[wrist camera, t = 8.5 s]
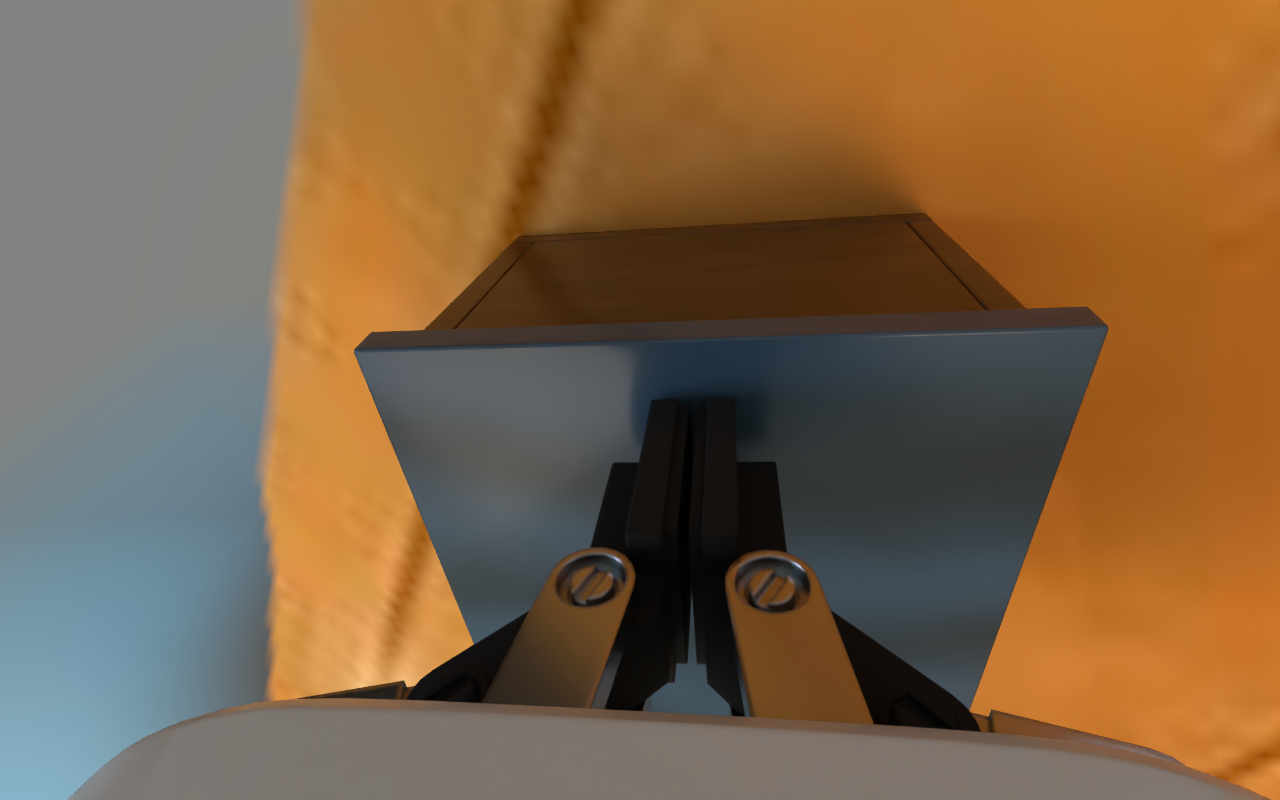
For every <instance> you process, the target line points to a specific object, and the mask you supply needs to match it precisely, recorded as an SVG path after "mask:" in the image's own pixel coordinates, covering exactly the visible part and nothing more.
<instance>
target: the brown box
mask: <svg viewBox="0 0 1280 800" xmlns="http://www.w3.org/2000/svg"><path fill="white" fill-rule="evenodd" d="M1005 309H1027V308H1026V307H1024V306H1023V305H1022V304H1021V303H1020V302H1019V301H1018V300H1017V299H1016V298H1015V297H1014V296H1013V295H1012V294H1011V293H1009V292H1008V291H1007V290H1006V289H1005V288H1004V287H1003V286H1002V285H1001V284H1000V283H999V282H998V281H997V280H996V279H994V278H993V277H992V276H991V275H990V274H989V273H988V272H987V271H986V270H985V269H984V268H983V267H982V266H981V265H979V264H978V263H977V262H976V261H975V260H974V259H973V258H972V257H971V256H970V255H969V254H968V253H967V252H966V251H964V250H963V249H962V248H961V247H960V246H959V245H958V244H957V243H956V242H955V241H954V240H953V239H952V238H951V237H949V236H948V235H947V234H946V233H945V232H944V231H943V230H942V229H941V228H940V227H939V226H938V225H937V224H936V223H934V222H933V221H932V219H931V218H930V217H929V216H928V215H927V214H925V213H918V214H901V215H884V216H867V217H850V218H833V219H816V220H798V221H781V222H764V223H747V224H730V225H713V226H696V227H678V228H661V229H644V230H627V231H610V232H593V233H576V234H558V235H541V236H524V237H518V238H517V239H516V240H515V241H514V242H513V243H512V244H510V245H509V246H508V247H507V248H506V249H505V250H504V251H503V252H502V253H501V254H500V255H499V256H498V257H497V258H496V259H495V260H494V261H493V262H492V263H491V264H490V265H489V266H488V267H487V268H486V269H485V270H484V271H483V272H482V273H481V274H480V275H479V276H478V277H477V278H476V279H475V280H474V281H473V282H472V283H471V284H470V285H469V286H468V287H467V288H466V289H465V290H464V291H463V292H462V293H461V294H460V295H459V296H458V297H457V298H456V299H455V300H454V301H453V302H452V303H451V304H450V305H449V306H448V307H447V308H446V309H445V310H444V311H443V312H442V313H441V314H440V315H439V316H438V317H437V318H436V319H435V320H433V321H432V322H431V323H430V324H429V325H428V326H427V327H426V328H425V329H424V330H445V329H473V328H501V327H529V326H557V325H585V324H613V323H641V322H669V321H697V320H725V319H753V318H781V317H809V316H837V315H865V314H893V313H921V312H949V311H977V310H1005Z"/></svg>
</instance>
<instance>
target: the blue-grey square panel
mask: <svg viewBox="0 0 1280 800" xmlns="http://www.w3.org/2000/svg"><path fill="white" fill-rule="evenodd" d="M1107 332H1108V325H1107V324H1105V323H1104V322H1103V321H1102V320H1101V319H1100V318H1099V317H1098V316H1097V315H1096V314H1095V313H1094V312H1093V311H1092V310H1091V309H1089V308H1088V307H1061V308H1033V309H1005V310H977V311H949V312H921V313H893V314H865V315H837V316H809V317H781V318H753V319H725V320H697V321H669V322H641V323H613V324H585V325H557V326H529V327H501V328H473V329H445V330H417V331H389V332H372V333H370V334H369V335H368V336H367V337H366V338H365V339H364V340H363V341H362V342H361V343H360V344H359V345H358V346H357V347H356V348H355V349H354V353H355V356H356V358H357V361H358V363H359V366H360V368H361V370H362V373H363V375H364V378H365V380H366V383H367V385H368V387H369V390H370V392H371V395H372V397H373V400H374V402H375V404H376V407H377V409H378V412H379V414H380V417H381V419H382V421H383V424H384V426H385V429H386V431H387V434H388V436H389V439H390V441H391V443H392V446H393V448H394V451H395V453H396V456H397V458H398V460H399V463H400V465H401V468H402V470H403V473H404V475H405V477H406V480H407V482H408V485H409V487H410V490H411V492H412V494H413V497H414V499H415V502H416V504H417V507H418V509H419V511H420V514H421V516H422V519H423V521H424V524H425V526H426V528H427V531H428V533H429V536H430V538H431V541H432V543H433V546H434V548H435V550H436V553H437V555H438V558H439V560H440V563H441V565H442V567H443V570H444V572H445V575H446V577H447V580H448V582H449V584H450V587H451V589H452V592H453V594H454V597H455V599H456V601H457V604H458V606H459V609H460V611H461V614H462V616H463V618H464V621H465V623H466V626H467V628H468V631H469V633H470V635H471V638H472V640H473V643H474V644H476V643H477V642H479V641H481V640H482V639H484V638H486V637H487V636H489V635H490V634H492V633H494V632H495V631H497V630H498V629H500V628H502V627H503V626H505V625H506V624H508V623H510V622H511V621H513V620H515V619H516V618H518V617H519V616H521V615H523V614H524V613H526V612H527V611H529V610H530V609H531V607H532V605H533V603H534V601H535V599H536V597H537V595H538V593H539V592H540V590H541V588H542V586H543V584H544V582H545V580H546V578H547V576H548V574H549V573H550V571H551V570H552V569H553V567H554V566H555V565H556V563H558V562H559V561H560V560H561V559H563V558H564V557H565V556H567V555H569V554H571V553H573V552H576V551H578V550H582V549H586V548H590V546H591V543H592V539H593V535H594V531H595V527H596V523H597V520H598V516H599V512H600V508H601V504H602V501H603V497H604V493H605V489H606V485H607V481H608V478H609V474H610V470H611V467H612V464H613V463H614V462H639V459H640V454H641V449H642V444H643V439H644V434H645V429H646V424H647V419H648V414H649V409H650V404H651V400H657V399H679V405H680V406H689V409H690V424H691V441H692V458H694V445H695V431H696V417H697V406H708V398H735V420H736V454H737V462H776V466H777V474H778V482H779V490H780V498H781V507H782V515H783V523H784V531H785V540H786V548H787V553H790V554H792V555H794V556H796V557H798V558H800V559H802V560H804V561H805V562H806V563H807V564H808V565H809V566H811V567H812V568H813V570H814V572H815V573H816V575H817V576H818V578H819V580H820V583H821V586H822V588H823V591H824V594H825V596H826V599H827V602H828V604H829V607H830V609H831V610H832V611H833V612H834V613H836V614H837V615H839V616H840V617H842V618H843V619H845V620H846V621H847V622H849V623H850V624H852V625H853V626H855V627H856V628H857V629H859V630H860V631H862V632H863V633H865V634H866V635H868V636H869V637H870V638H872V639H873V640H875V641H876V642H878V643H879V644H880V645H882V646H883V647H885V648H886V649H888V650H889V651H891V652H892V653H893V654H895V655H896V656H898V657H899V658H901V659H902V660H903V661H905V662H906V663H908V664H909V665H911V666H912V667H914V668H915V669H916V670H918V671H919V672H921V673H922V674H924V675H925V676H926V677H928V678H929V679H931V680H932V681H934V682H935V683H936V684H938V685H939V686H941V687H942V688H944V689H945V690H947V691H948V692H949V693H951V694H952V695H953V696H954V697H956V698H957V699H958V700H959V701H960V702H961V703H962V704H964V705H965V706H966V707H967V708H968V710H970V707H971V705H972V702H973V699H974V696H975V694H976V691H977V688H978V685H979V683H980V680H981V677H982V674H983V672H984V669H985V666H986V664H987V661H988V658H989V655H990V653H991V650H992V647H993V644H994V642H995V639H996V636H997V633H998V631H999V628H1000V625H1001V622H1002V620H1003V617H1004V614H1005V611H1006V609H1007V606H1008V603H1009V600H1010V598H1011V595H1012V592H1013V589H1014V587H1015V584H1016V581H1017V579H1018V576H1019V573H1020V570H1021V568H1022V565H1023V562H1024V559H1025V557H1026V554H1027V551H1028V548H1029V546H1030V543H1031V540H1032V537H1033V535H1034V532H1035V529H1036V526H1037V524H1038V521H1039V518H1040V515H1041V513H1042V510H1043V507H1044V504H1045V502H1046V499H1047V496H1048V493H1049V491H1050V488H1051V485H1052V483H1053V480H1054V477H1055V474H1056V472H1057V469H1058V466H1059V463H1060V461H1061V458H1062V455H1063V452H1064V450H1065V447H1066V444H1067V441H1068V439H1069V436H1070V433H1071V430H1072V428H1073V425H1074V422H1075V419H1076V417H1077V414H1078V411H1079V408H1080V406H1081V403H1082V400H1083V397H1084V395H1085V392H1086V389H1087V387H1088V384H1089V381H1090V378H1091V376H1092V373H1093V370H1094V367H1095V365H1096V362H1097V359H1098V356H1099V354H1100V351H1101V348H1102V345H1103V343H1104V340H1105V337H1106V334H1107ZM651 698H652V705H651V712H664V713H683V714H701V715H719V716H729V704H728V703H727V702H726V701H725V700H724V699H723V698H722V697H721V696H720V695H719V694H718V693H717V692H716V691H715V690H714V689H713V688H712V687H711V686H709V685H708V684H707V670H706V665H703V664H697V659H696V645H695V630H694V616H693V601H692V598H691V616H690V633H689V650H688V663H687V664H679V663H676V676H675V683H667V684H666V685H664V686H663V687H662V688H660V689H659V690H658V691H657V692H655V693H654V694H653V695H652V696H651Z"/></svg>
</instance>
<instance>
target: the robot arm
mask: <svg viewBox="0 0 1280 800" xmlns="http://www.w3.org/2000/svg"><path fill="white" fill-rule="evenodd" d="M691 598H692V601H693V616H694V630H695V645H696V659H697V664H703V665H706V670H707V684H708V685H709V686H711V687H712V688H713V689H714V690H715V691H716V692H717V693H718V694H719V695H720V696H721V697H722V698H723V699H724V700H725V701H726V702H727V703H728V704H729V716H719V715H701V714H683V713H664V712H651V705H652V698H651V696H652V695H653V694H654V693H655V692H657V691H658V690H659V689H660V688H662V687H663V686H664V685H666V684H667V683H675V676H676V663H679V664H687V663H688V650H689V633H690V616H691ZM68 800H1271V799H1269V798H1266V797H1264V796H1262V795H1260V794H1257V793H1255V792H1253V791H1251V790H1249V789H1246V788H1244V787H1242V786H1239V785H1236V784H1234V783H1231V782H1228V781H1226V780H1223V779H1220V778H1217V777H1215V776H1212V775H1209V774H1206V773H1204V772H1201V771H1198V770H1196V769H1193V768H1190V767H1187V766H1185V765H1184V764H1182V763H1181V762H1179V761H1178V760H1176V759H1175V758H1173V757H1171V756H1169V755H1166V754H1163V753H1161V752H1158V751H1155V750H1153V749H1150V748H1147V747H1143V746H1139V745H1135V744H1131V743H1127V742H1123V741H1119V740H1115V739H1110V738H1106V737H1102V736H1098V735H1094V734H1090V733H1086V732H1082V731H1078V730H1074V729H1069V728H1065V727H1061V726H1057V725H1053V724H1049V723H1045V722H1041V721H1037V720H1033V719H1028V718H1024V717H1020V716H1016V715H1012V714H1008V713H1004V712H1000V711H996V710H992V709H991V712H990V716H989V717H987V716H983V715H979V714H975V713H971V712H970V711H969V710H968V708H967V707H966V706H965V705H964V704H962V703H961V702H960V701H959V700H958V699H957V698H956V697H954V696H953V695H952V694H951V693H949V692H948V691H947V690H945V689H944V688H942V687H941V686H939V685H938V684H936V683H935V682H934V681H932V680H931V679H929V678H928V677H926V676H925V675H924V674H922V673H921V672H919V671H918V670H916V669H915V668H914V667H912V666H911V665H909V664H908V663H906V662H905V661H903V660H902V659H901V658H899V657H898V656H896V655H895V654H893V653H892V652H891V651H889V650H888V649H886V648H885V647H883V646H882V645H880V644H879V643H878V642H876V641H875V640H873V639H872V638H870V637H869V636H868V635H866V634H865V633H863V632H862V631H860V630H859V629H857V628H856V627H855V626H853V625H852V624H850V623H849V622H847V621H846V620H845V619H843V618H842V617H840V616H839V615H837V614H836V613H834V612H833V611H832V610H831V609H830V607H829V604H828V602H827V599H826V596H825V594H824V591H823V588H822V586H821V583H820V580H819V578H818V576H817V575H816V573H815V572H814V570H813V568H812V567H811V566H809V565H808V564H807V563H806V562H805V561H804V560H802V559H800V558H798V557H796V556H794V555H792V554H790V553H787V548H786V540H785V531H784V523H783V515H782V507H781V498H780V490H779V482H778V474H777V466H776V462H737V454H736V420H735V398H708V406H697V417H696V431H695V445H694V458H692V441H691V424H690V409H689V406H680V405H679V399H657V400H651V404H650V409H649V414H648V419H647V424H646V429H645V434H644V439H643V444H642V449H641V454H640V459H639V462H614V463H613V464H612V467H611V470H610V474H609V478H608V481H607V485H606V489H605V493H604V497H603V501H602V504H601V508H600V512H599V516H598V520H597V523H596V527H595V531H594V535H593V539H592V543H591V546H590V548H586V549H582V550H578V551H576V552H573V553H571V554H569V555H567V556H565V557H564V558H563V559H561V560H560V561H559V562H558V563H556V565H555V566H554V567H553V569H552V570H551V571H550V573H549V574H548V576H547V578H546V580H545V582H544V584H543V586H542V588H541V590H540V592H539V593H538V595H537V597H536V599H535V601H534V603H533V605H532V607H531V609H530V610H529V611H527V612H526V613H524V614H523V615H521V616H519V617H518V618H516V619H515V620H513V621H511V622H510V623H508V624H506V625H505V626H503V627H502V628H500V629H498V630H497V631H495V632H494V633H492V634H490V635H489V636H487V637H486V638H484V639H482V640H481V641H479V642H477V643H476V644H474V645H473V646H471V647H469V648H468V649H466V650H465V651H463V652H461V653H460V654H458V655H456V656H455V657H453V658H452V659H450V660H448V661H447V662H445V663H444V664H442V665H440V666H439V667H437V668H436V669H434V670H432V671H431V672H430V673H429V674H427V675H426V676H425V677H423V678H422V679H421V680H420V681H419V682H418V683H417V684H416V686H413V687H406V684H405V682H404V681H399V682H393V683H387V684H381V685H375V686H369V687H363V688H357V689H351V690H345V691H339V692H333V693H327V694H321V695H315V696H310V697H304V698H298V699H290V700H279V701H267V702H259V703H253V704H248V705H243V706H238V707H233V708H228V709H222V710H218V711H216V712H212V713H208V714H205V715H202V716H198V717H195V718H191V719H188V720H185V721H182V722H179V723H177V724H174V725H172V726H169V727H167V728H164V729H162V730H160V731H158V732H155V733H153V734H151V735H149V736H147V737H145V738H143V739H141V740H139V741H138V742H136V743H134V744H133V745H131V746H129V747H128V748H126V749H125V750H123V751H122V752H120V753H119V754H118V755H117V756H115V757H114V758H113V759H111V760H110V761H109V762H108V763H106V764H105V765H104V766H103V767H102V768H100V769H99V770H98V771H97V772H96V773H95V774H94V775H93V776H92V777H91V778H89V779H88V780H87V781H86V782H85V783H84V784H83V785H82V786H81V787H80V788H79V789H78V790H77V791H76V792H75V793H74V794H73V795H72V796H71V797H70V798H69V799H68Z"/></svg>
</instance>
